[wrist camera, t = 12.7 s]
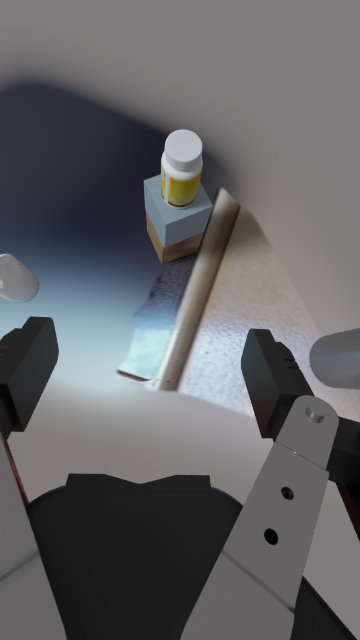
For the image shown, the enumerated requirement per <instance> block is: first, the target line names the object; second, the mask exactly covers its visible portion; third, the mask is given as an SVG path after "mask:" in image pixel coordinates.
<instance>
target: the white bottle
mask: <svg viewBox="0 0 360 640" xmlns="http://www.w3.org/2000/svg"><path fill="white" fill-rule="evenodd" d="M38 289H39V281H38V278H37V277H36V276H35V275H34V274H33V273H32V272H30V271H29V270H28V269H27V268H25V267H24V266H23V265H22V264H21V263H20V262H18V260H16V259H15V258H14V257H13V256H11V255H10V254H2V255H0V296H1V297H3V298H5V299H7V300H10V301H12V302H15V303H22V302H27V301H29V300H31V299H32V298H34V297H35V295H36V294H37V292H38Z"/></svg>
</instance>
